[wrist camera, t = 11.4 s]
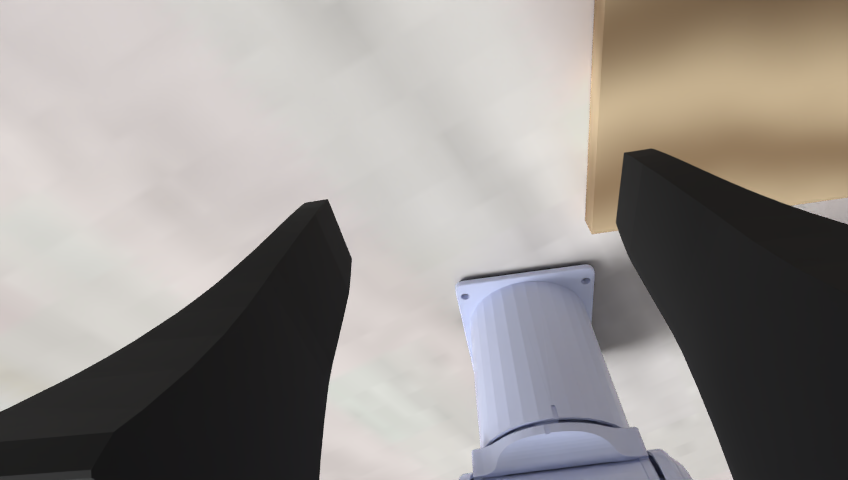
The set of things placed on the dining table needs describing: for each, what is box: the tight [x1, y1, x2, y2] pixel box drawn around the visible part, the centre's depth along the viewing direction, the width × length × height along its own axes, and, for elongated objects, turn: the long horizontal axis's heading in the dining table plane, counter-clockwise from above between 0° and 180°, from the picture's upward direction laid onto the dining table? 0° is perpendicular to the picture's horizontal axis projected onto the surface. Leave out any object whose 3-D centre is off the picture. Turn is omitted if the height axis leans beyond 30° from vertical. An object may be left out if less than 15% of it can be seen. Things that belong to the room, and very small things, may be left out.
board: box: [585, 0, 848, 234], centre depth 15 cm, size 18×13×1 cm
